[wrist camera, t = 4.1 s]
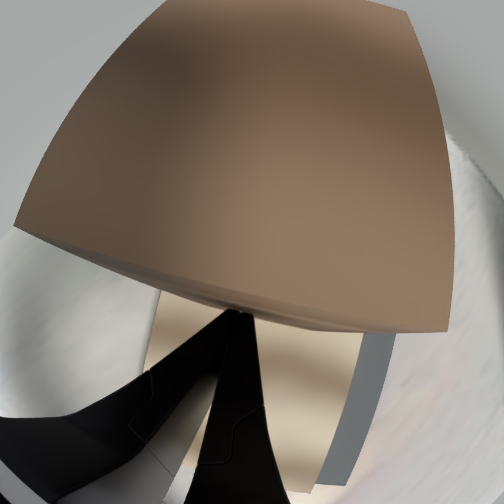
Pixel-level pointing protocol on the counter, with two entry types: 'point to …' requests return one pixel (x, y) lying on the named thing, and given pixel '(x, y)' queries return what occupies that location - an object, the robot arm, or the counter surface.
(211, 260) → the walnut block
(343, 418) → the rubber mat
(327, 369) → the birch board
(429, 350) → the counter surface
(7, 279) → the counter surface
